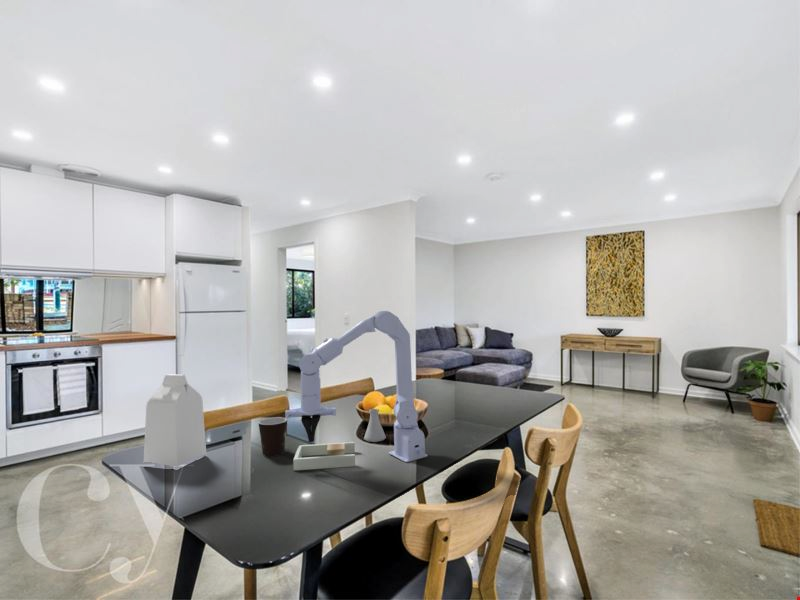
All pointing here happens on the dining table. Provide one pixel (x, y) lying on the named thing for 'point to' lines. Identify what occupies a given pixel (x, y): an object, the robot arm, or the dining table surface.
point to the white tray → (323, 457)
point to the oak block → (335, 449)
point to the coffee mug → (273, 435)
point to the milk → (174, 423)
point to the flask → (374, 428)
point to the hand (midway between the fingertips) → (311, 441)
